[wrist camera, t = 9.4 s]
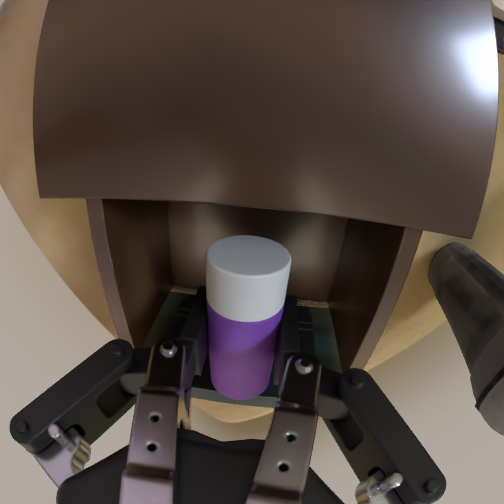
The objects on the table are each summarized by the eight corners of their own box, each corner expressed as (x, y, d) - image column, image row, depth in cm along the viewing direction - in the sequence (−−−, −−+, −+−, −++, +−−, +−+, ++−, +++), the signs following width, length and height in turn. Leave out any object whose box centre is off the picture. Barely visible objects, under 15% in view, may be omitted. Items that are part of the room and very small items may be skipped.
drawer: (324, 356, 22) (333, 436, 15) (168, 339, 22) (139, 413, 15) (384, 119, 13) (467, 131, 6) (150, 100, 13) (60, 100, 6)
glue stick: (279, 372, 14) (247, 411, 12) (233, 347, 15) (198, 380, 13) (305, 250, 10) (262, 288, 8) (239, 227, 12) (187, 254, 9)
